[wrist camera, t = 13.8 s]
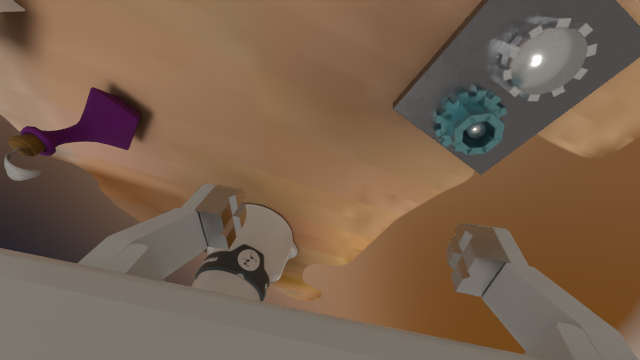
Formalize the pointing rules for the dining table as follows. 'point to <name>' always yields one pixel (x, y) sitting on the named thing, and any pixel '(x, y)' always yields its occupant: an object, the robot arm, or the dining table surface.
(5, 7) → the black-topped pedestal
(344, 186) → the dining table surface
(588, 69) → the carrier plate
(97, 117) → the perfume bottle
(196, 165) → the dining table surface
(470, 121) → the planet gear
